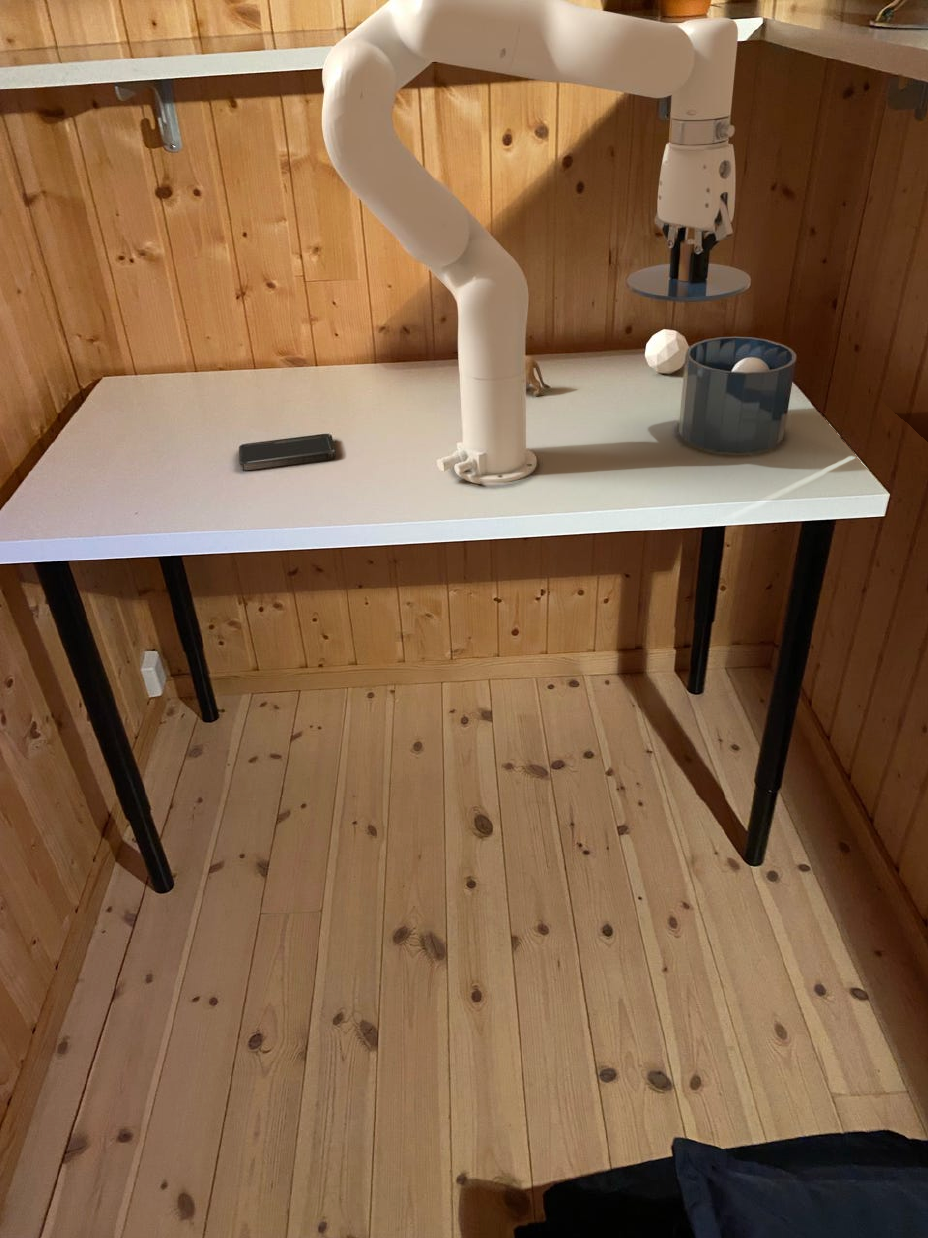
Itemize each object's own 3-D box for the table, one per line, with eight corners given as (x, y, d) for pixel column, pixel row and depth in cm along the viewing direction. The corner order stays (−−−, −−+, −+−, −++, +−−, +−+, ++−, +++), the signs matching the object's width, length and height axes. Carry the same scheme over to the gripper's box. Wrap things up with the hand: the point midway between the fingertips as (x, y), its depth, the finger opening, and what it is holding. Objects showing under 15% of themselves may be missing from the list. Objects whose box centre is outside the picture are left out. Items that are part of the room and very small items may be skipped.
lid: (692, 314, 120) (695, 265, 117) (601, 289, 132) (602, 244, 128) (775, 285, 128) (781, 238, 124) (683, 264, 139) (686, 220, 136)
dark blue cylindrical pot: (737, 465, 137) (748, 381, 129) (657, 433, 148) (664, 353, 140) (804, 435, 144) (818, 354, 137) (724, 406, 155) (733, 329, 148)
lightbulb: (745, 432, 149) (770, 365, 146) (755, 433, 143) (781, 363, 140) (709, 420, 148) (734, 353, 146) (717, 421, 143) (743, 350, 140)
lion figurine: (468, 400, 162) (466, 350, 157) (467, 389, 167) (465, 340, 162) (551, 395, 163) (552, 345, 157) (548, 384, 167) (548, 335, 162)
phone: (335, 452, 145) (238, 464, 143) (336, 458, 145) (240, 471, 143) (331, 432, 151) (238, 443, 149) (332, 438, 152) (240, 450, 150)
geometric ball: (653, 387, 170) (629, 354, 167) (673, 360, 174) (650, 327, 171) (684, 377, 164) (659, 342, 161) (704, 348, 167) (680, 314, 164)
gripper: (769, 132, 115) (752, 283, 125) (672, 123, 126) (663, 263, 136) (729, 141, 111) (715, 296, 122) (632, 131, 122) (627, 274, 133)
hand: (688, 277), depth 129 cm, fingers closed on lid, 2 cm apart
